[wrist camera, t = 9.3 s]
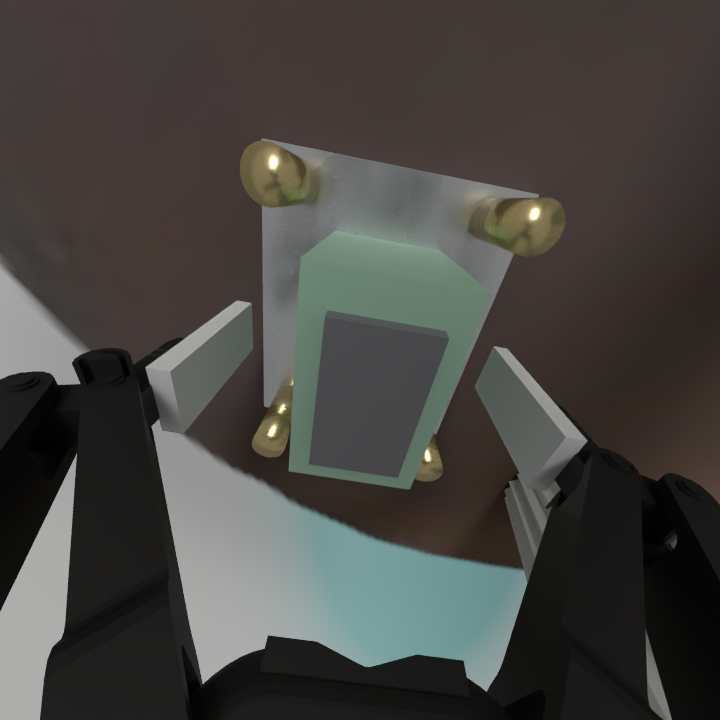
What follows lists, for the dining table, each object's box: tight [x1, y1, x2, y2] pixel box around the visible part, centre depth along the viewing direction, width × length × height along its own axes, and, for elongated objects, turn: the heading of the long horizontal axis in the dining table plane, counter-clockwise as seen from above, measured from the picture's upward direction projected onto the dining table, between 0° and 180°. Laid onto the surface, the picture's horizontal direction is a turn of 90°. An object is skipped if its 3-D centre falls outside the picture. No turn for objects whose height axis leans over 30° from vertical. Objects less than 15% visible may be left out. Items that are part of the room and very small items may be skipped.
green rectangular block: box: [289, 231, 492, 490], centre depth 14 cm, size 10×6×9 cm, turn 170°
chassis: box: [240, 139, 566, 482], centre depth 16 cm, size 17×14×6 cm
